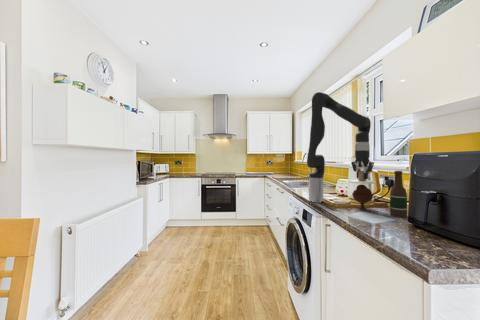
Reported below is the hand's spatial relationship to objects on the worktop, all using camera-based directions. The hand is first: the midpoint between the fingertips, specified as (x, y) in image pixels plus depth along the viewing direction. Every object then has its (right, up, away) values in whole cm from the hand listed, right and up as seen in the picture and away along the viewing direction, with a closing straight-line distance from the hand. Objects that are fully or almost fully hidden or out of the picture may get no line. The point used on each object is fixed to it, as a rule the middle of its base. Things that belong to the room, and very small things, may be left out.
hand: (362, 178), depth 130 cm
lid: (0, -2, 0) cm, 2 cm away
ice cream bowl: (0, -19, 0) cm, 19 cm away
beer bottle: (+11, -19, -15) cm, 26 cm away
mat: (-7, -19, -18) cm, 27 cm away
